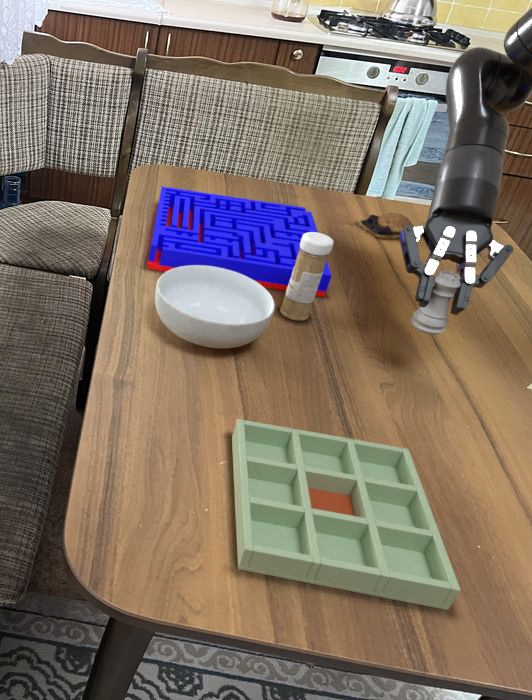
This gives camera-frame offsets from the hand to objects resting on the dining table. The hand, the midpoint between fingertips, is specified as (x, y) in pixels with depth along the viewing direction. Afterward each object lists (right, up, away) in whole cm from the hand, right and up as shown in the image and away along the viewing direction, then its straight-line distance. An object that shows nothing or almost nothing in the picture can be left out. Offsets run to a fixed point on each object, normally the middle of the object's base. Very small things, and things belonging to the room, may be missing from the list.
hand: (439, 308), depth 88 cm
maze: (-17, +14, +40) cm, 46 cm away
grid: (-20, -23, -15) cm, 34 cm away
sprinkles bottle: (-12, 0, +20) cm, 24 cm away
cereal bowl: (-28, -3, +14) cm, 31 cm away
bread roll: (+19, +19, +54) cm, 60 cm away
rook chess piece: (0, -2, +4) cm, 5 cm away
